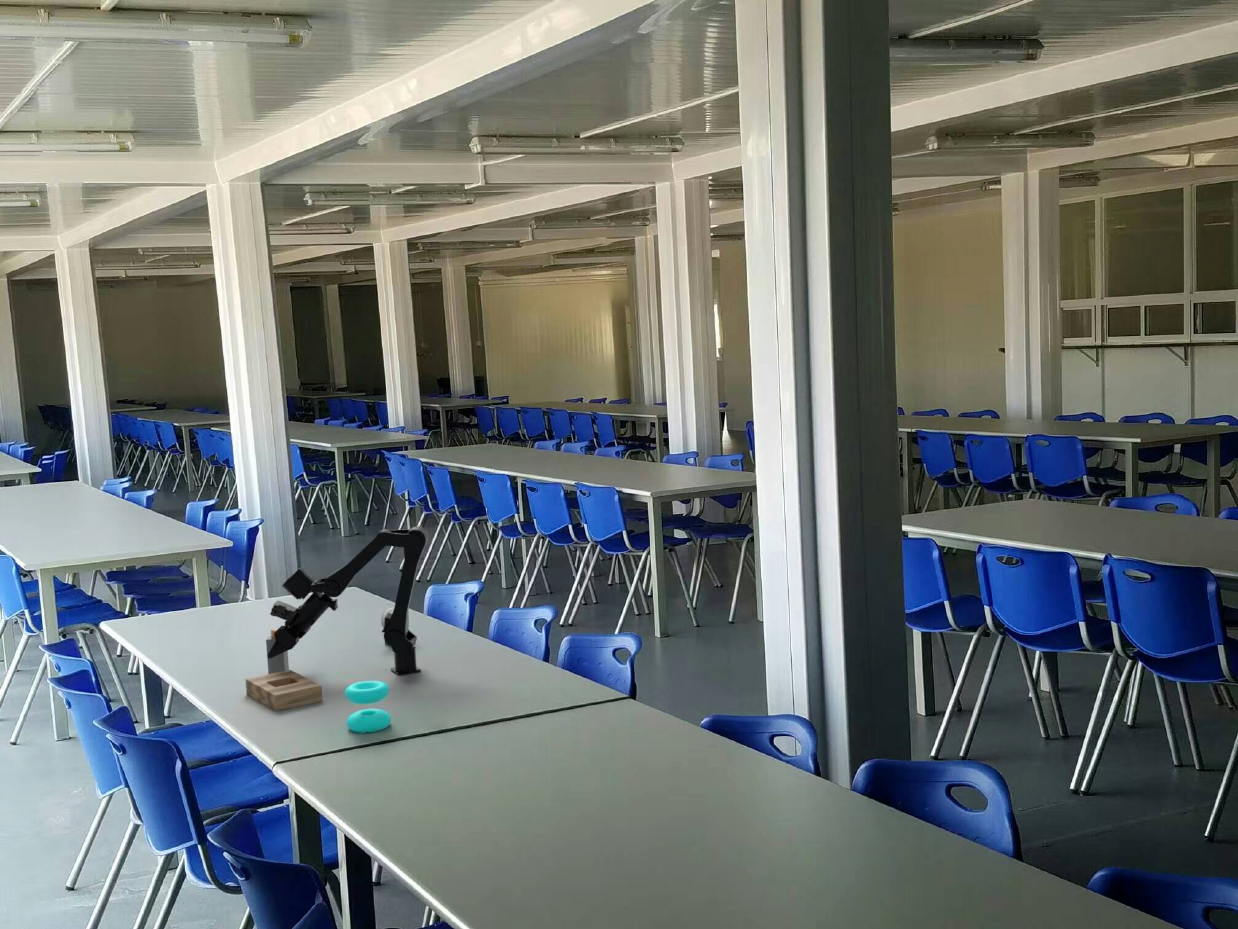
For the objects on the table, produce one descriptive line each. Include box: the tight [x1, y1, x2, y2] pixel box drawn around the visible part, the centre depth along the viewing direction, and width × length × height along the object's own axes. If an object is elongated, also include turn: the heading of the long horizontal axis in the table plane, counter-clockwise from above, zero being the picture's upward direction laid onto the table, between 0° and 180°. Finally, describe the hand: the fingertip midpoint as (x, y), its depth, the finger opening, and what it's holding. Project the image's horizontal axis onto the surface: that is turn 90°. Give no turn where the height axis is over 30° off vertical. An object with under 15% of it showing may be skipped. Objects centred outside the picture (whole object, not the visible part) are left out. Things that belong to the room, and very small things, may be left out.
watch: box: [380, 606, 395, 647], centre depth 360 cm, size 6×8×11 cm
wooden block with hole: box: [245, 669, 323, 712], centre depth 310 cm, size 20×12×4 cm, turn 37°
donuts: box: [344, 680, 392, 734], centre depth 283 cm, size 10×10×10 cm
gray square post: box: [265, 628, 290, 674], centre depth 329 cm, size 4×4×13 cm
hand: (272, 653), depth 329 cm, fingers open, 8 cm apart
